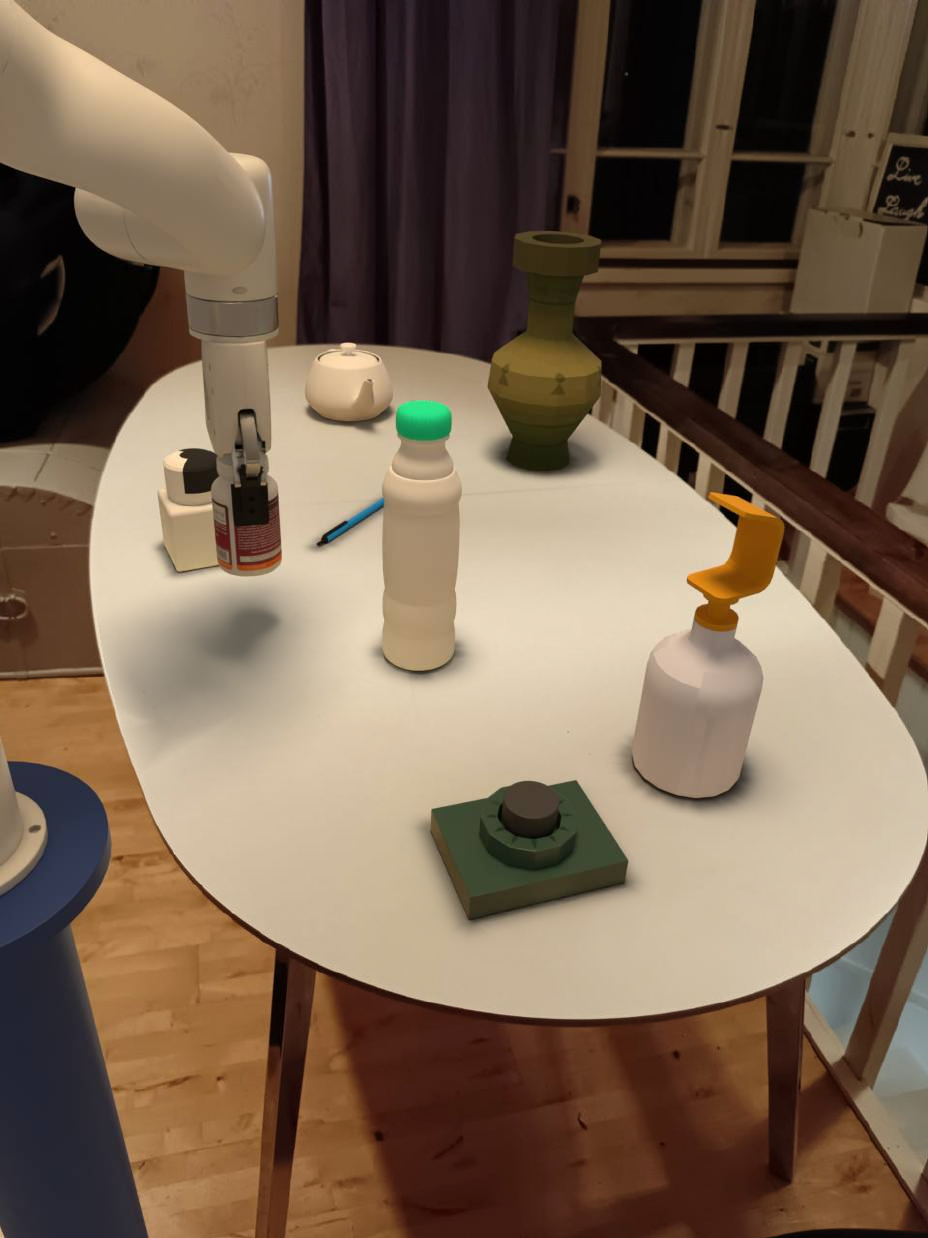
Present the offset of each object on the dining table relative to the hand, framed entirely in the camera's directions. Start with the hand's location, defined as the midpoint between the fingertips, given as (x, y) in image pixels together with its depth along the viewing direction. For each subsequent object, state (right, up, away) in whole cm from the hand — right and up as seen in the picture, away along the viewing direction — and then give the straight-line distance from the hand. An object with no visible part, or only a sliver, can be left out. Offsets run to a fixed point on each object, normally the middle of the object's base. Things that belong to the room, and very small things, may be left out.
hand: (246, 507), depth 90 cm
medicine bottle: (-9, -3, +19) cm, 21 cm away
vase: (+31, +12, +48) cm, 58 cm away
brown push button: (+25, -25, -21) cm, 41 cm away
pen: (+8, +2, +29) cm, 30 cm away
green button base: (+25, -28, -19) cm, 42 cm away
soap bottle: (+39, -23, -9) cm, 46 cm away
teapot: (+3, +22, +60) cm, 64 cm away
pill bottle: (0, -5, +3) cm, 6 cm away
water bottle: (+16, -14, +3) cm, 22 cm away
